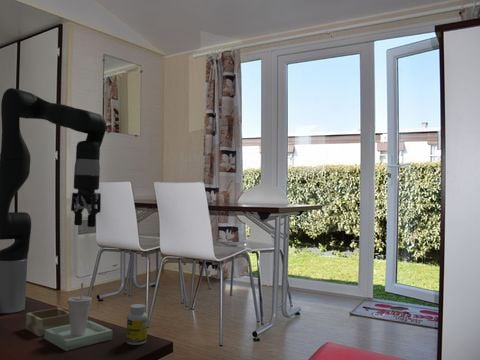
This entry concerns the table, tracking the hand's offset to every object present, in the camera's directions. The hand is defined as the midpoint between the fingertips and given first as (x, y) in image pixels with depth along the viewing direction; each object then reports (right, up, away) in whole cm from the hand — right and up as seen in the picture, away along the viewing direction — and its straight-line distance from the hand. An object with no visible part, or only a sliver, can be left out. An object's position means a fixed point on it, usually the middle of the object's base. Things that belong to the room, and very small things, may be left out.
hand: (84, 226), depth 128 cm
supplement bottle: (+21, -30, -17) cm, 40 cm away
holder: (-8, -30, -8) cm, 31 cm away
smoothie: (+4, -28, -15) cm, 32 cm away
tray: (+4, -29, -15) cm, 33 cm away
